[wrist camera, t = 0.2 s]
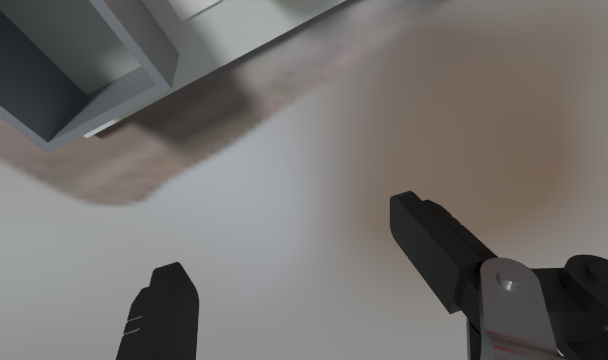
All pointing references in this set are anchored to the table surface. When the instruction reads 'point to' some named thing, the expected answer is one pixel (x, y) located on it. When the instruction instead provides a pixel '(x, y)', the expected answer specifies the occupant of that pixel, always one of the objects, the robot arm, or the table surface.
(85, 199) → the table surface
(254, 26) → the ball rack
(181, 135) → the table surface
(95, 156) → the table surface
